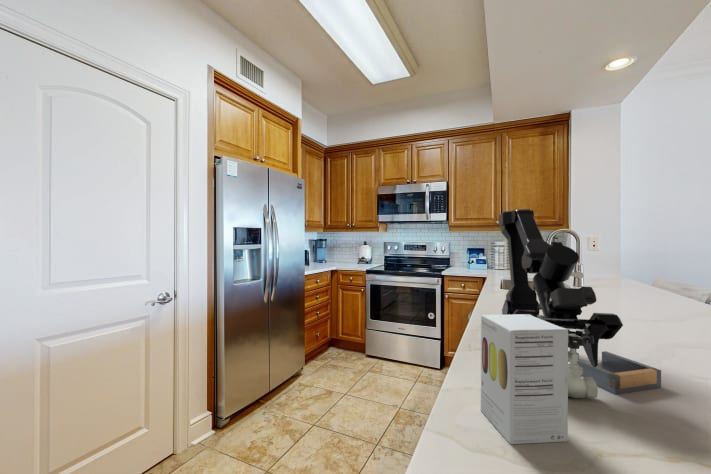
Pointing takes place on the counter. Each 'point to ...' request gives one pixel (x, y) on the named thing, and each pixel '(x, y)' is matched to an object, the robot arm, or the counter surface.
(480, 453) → the counter surface
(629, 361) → the grey wooden tray
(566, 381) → the supplement box
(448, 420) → the counter surface
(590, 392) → the valve
